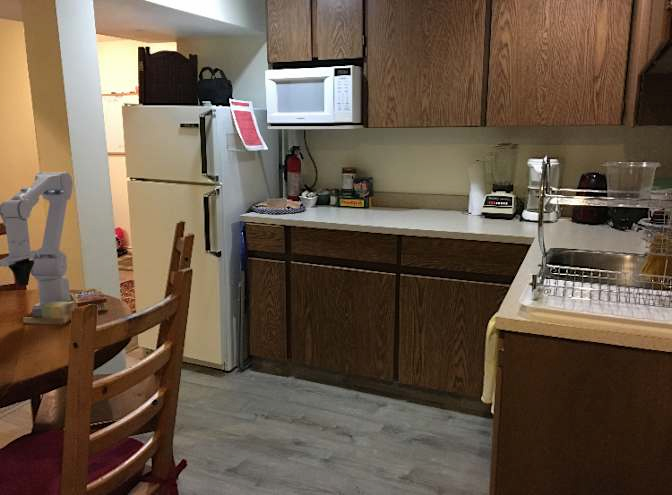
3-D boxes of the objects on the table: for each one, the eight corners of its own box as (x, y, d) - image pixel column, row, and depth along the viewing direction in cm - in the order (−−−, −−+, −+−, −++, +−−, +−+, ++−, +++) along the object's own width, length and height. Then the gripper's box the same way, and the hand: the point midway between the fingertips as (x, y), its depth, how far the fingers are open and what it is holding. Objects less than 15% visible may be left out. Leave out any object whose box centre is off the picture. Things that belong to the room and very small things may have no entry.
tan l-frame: (38, 315, 178) (36, 300, 177) (76, 317, 176) (74, 301, 175) (23, 322, 171) (21, 306, 170) (62, 324, 169) (60, 307, 168)
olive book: (53, 317, 176) (51, 301, 175) (62, 317, 176) (60, 301, 175) (43, 322, 171) (41, 306, 170) (52, 322, 171) (50, 306, 170)
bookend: (44, 316, 177) (43, 303, 176) (53, 316, 176) (52, 304, 175) (33, 321, 172) (32, 308, 171) (42, 322, 171) (41, 309, 171)
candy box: (76, 301, 177) (68, 291, 189) (77, 315, 177) (70, 304, 190) (106, 296, 181) (97, 287, 194) (108, 309, 182) (98, 299, 195)
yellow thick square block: (62, 317, 176) (60, 301, 175) (71, 317, 175) (69, 302, 174) (52, 322, 171) (50, 306, 170) (61, 323, 170) (59, 306, 170)
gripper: (13, 245, 163) (19, 291, 165) (46, 236, 177) (51, 279, 179) (-9, 244, 164) (-3, 291, 166) (25, 236, 178) (30, 279, 180)
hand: (23, 285), depth 173 cm, fingers closed
